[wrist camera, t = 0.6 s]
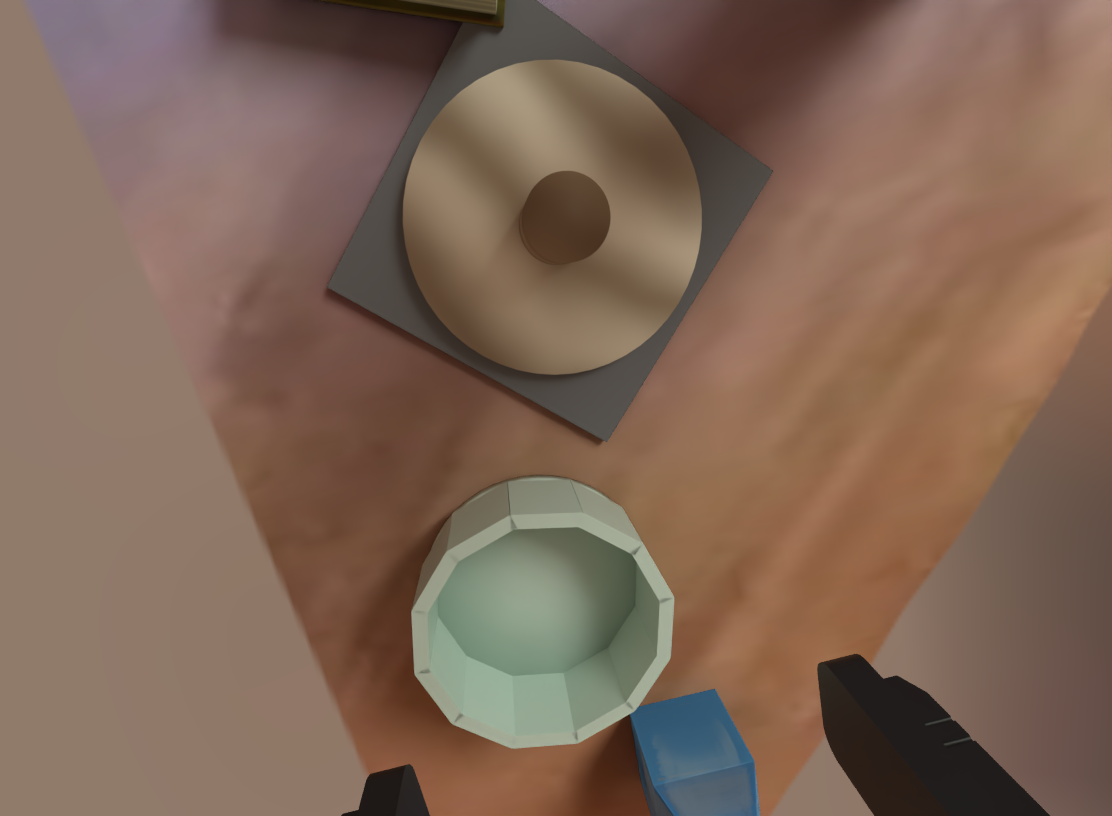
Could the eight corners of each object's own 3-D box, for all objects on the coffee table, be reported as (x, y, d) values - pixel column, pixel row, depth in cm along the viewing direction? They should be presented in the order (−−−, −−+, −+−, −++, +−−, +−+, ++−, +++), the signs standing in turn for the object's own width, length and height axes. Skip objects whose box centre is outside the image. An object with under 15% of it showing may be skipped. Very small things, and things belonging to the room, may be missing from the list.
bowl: (494, 435, 34) (495, 467, 28) (684, 536, 37) (720, 583, 31) (385, 622, 36) (365, 688, 30) (574, 705, 39) (589, 780, 33)
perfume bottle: (723, 760, 41) (814, 948, 30) (640, 781, 41) (700, 979, 29) (714, 688, 40) (807, 856, 28) (628, 708, 40) (686, 887, 28)
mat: (491, -27, 29) (491, -33, 28) (768, 172, 33) (773, 170, 32) (329, 286, 31) (326, 286, 31) (604, 439, 35) (606, 442, 34)
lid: (498, -1, 29) (500, -65, 23) (749, 177, 32) (801, 156, 27) (352, 280, 31) (323, 280, 26) (601, 420, 34) (621, 446, 29)
